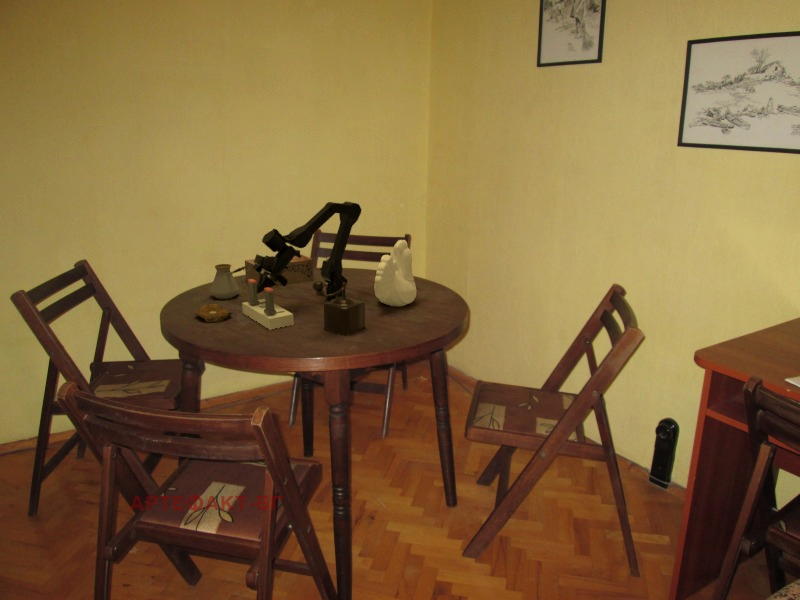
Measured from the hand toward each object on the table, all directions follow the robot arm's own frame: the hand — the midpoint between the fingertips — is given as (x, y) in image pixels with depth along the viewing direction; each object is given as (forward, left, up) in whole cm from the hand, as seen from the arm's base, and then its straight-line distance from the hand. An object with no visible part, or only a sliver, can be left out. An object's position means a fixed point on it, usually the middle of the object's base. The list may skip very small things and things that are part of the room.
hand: (255, 293), depth 221 cm
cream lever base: (-6, +4, -8) cm, 11 cm away
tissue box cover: (+11, -46, -9) cm, 48 cm away
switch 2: (-10, +10, -4) cm, 15 cm away
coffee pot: (+18, -16, -8) cm, 26 cm away
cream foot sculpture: (-45, -23, -8) cm, 51 cm away
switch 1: (+1, +1, -4) cm, 4 cm away
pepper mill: (-35, +9, -8) cm, 37 cm away
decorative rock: (+15, +6, -9) cm, 18 cm away
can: (-14, -46, -8) cm, 49 cm away
